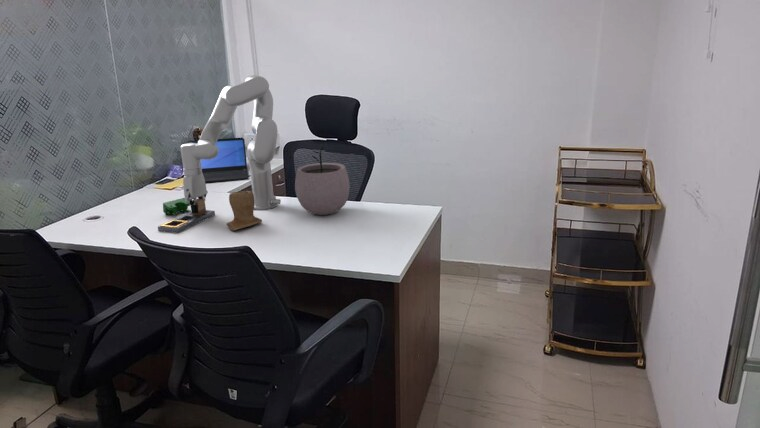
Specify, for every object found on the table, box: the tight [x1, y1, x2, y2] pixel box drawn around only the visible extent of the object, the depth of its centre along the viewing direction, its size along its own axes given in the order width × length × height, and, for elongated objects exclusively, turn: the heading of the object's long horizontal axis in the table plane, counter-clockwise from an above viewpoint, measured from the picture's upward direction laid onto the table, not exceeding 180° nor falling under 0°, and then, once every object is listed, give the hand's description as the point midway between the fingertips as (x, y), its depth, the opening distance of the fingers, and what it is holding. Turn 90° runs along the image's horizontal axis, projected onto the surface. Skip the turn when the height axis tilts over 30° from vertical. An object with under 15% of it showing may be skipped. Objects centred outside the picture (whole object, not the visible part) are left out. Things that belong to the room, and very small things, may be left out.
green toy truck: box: [162, 197, 191, 216], centre depth 250 cm, size 12×6×9 cm, turn 133°
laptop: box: [188, 137, 249, 184], centre depth 320 cm, size 33×38×19 cm
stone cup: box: [226, 190, 263, 232], centre depth 226 cm, size 15×12×15 cm
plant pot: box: [294, 146, 351, 216], centre depth 237 cm, size 24×24×30 cm
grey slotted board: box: [157, 209, 216, 234], centre depth 235 cm, size 10×25×2 cm, turn 160°
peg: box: [190, 198, 207, 215], centre depth 241 cm, size 4×4×8 cm
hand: (198, 211), depth 242 cm, fingers closed on peg, 4 cm apart
